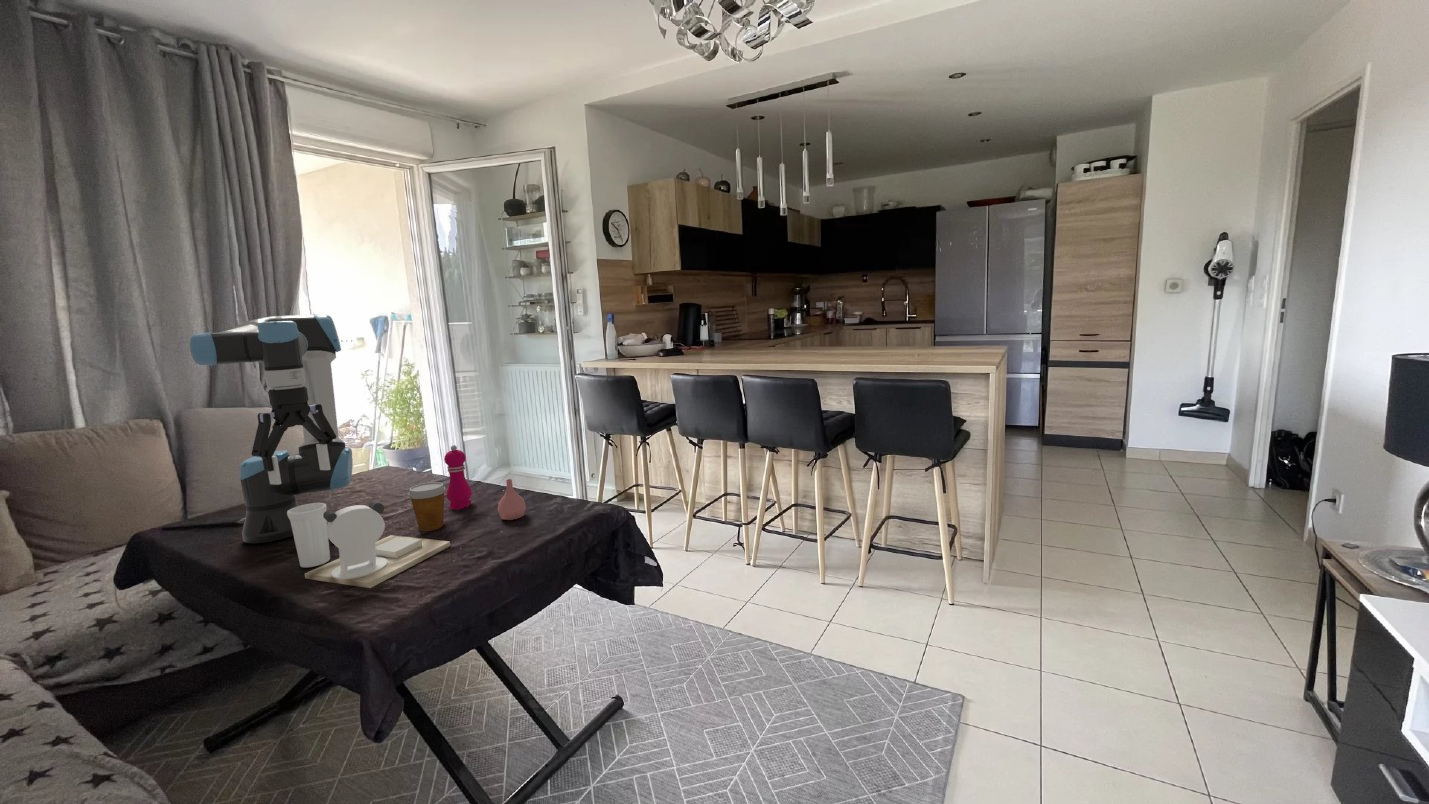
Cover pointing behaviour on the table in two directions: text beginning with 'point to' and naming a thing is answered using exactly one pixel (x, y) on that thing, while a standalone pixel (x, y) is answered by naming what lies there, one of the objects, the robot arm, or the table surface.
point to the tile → (397, 547)
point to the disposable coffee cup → (428, 505)
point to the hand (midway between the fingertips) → (301, 476)
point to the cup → (310, 534)
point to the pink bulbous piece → (511, 504)
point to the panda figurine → (356, 539)
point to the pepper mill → (457, 479)
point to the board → (388, 571)
